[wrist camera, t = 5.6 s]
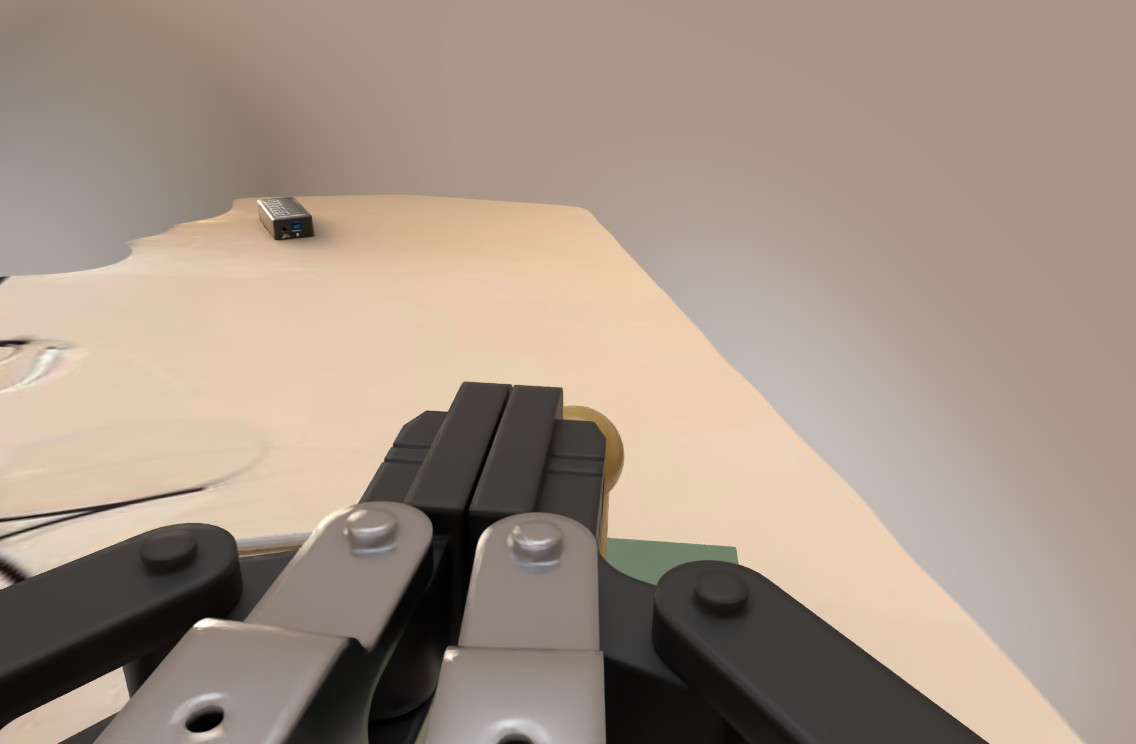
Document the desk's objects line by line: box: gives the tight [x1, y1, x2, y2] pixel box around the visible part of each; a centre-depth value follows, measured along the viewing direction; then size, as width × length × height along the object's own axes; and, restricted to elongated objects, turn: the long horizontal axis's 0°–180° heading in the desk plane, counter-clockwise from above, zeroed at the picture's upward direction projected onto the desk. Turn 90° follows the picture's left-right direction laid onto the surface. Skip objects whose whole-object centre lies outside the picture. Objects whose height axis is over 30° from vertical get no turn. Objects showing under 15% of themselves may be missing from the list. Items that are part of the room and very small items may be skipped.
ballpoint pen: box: [235, 532, 312, 552], centre depth 45 cm, size 10×1×1 cm, turn 103°
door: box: [606, 538, 738, 585], centre depth 32 cm, size 14×22×5 cm, turn 175°
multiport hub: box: [258, 197, 314, 240], centre depth 104 cm, size 4×11×2 cm, turn 27°
